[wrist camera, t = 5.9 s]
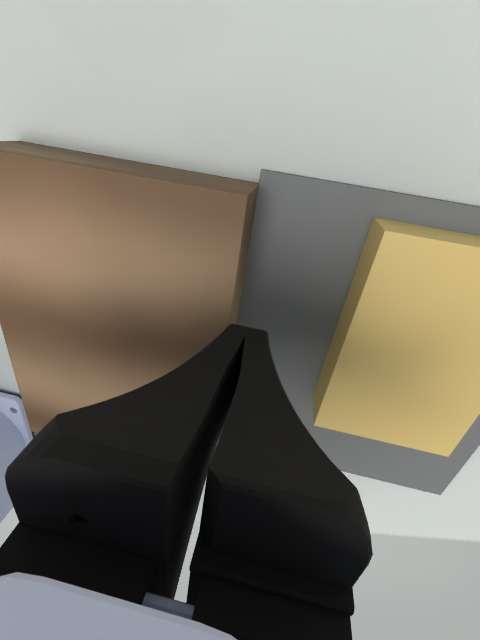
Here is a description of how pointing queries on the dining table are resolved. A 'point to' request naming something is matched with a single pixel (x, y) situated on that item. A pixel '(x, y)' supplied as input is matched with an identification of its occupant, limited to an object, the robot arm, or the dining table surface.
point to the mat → (334, 303)
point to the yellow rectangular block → (407, 341)
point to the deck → (112, 271)
